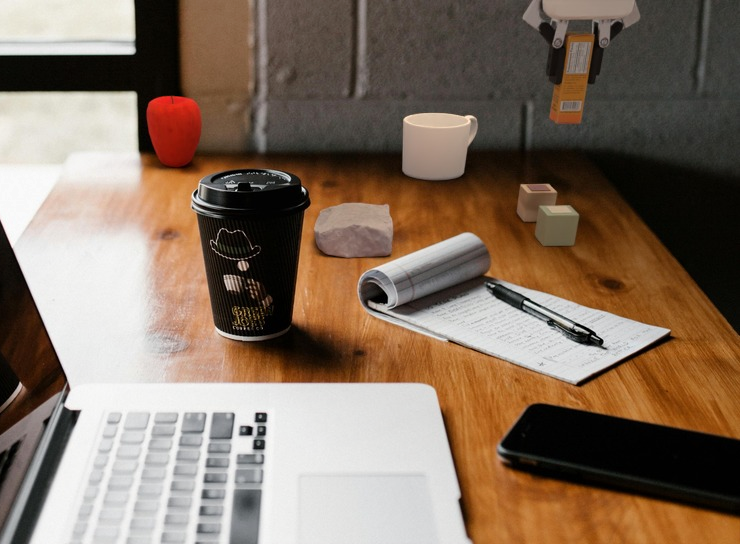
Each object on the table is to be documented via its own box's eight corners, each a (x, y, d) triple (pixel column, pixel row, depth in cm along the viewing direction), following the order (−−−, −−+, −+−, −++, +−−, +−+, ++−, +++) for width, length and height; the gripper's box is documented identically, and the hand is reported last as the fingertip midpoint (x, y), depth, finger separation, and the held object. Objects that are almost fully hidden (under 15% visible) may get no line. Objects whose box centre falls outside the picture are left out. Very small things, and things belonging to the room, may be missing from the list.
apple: (214, 162, 144) (211, 95, 139) (177, 174, 138) (172, 103, 133) (176, 154, 149) (171, 88, 143) (139, 165, 143) (133, 97, 137)
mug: (426, 184, 132) (431, 130, 128) (387, 169, 140) (389, 117, 136) (493, 172, 138) (499, 120, 134) (451, 158, 146) (456, 108, 142)
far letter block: (544, 212, 121) (549, 183, 118) (552, 221, 117) (557, 191, 115) (516, 212, 120) (520, 183, 118) (523, 221, 117) (527, 192, 115)
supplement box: (545, 118, 107) (561, 30, 102) (573, 118, 107) (590, 31, 102) (553, 123, 104) (569, 33, 99) (581, 124, 104) (599, 34, 99)
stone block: (319, 271, 107) (399, 255, 105) (312, 233, 104) (393, 217, 103) (318, 241, 117) (391, 227, 116) (311, 207, 115) (386, 192, 113)
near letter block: (564, 235, 112) (570, 204, 110) (574, 245, 109) (579, 214, 107) (534, 235, 112) (539, 204, 110) (542, 246, 109) (547, 214, 107)
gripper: (532, -96, 90) (510, 89, 100) (688, -97, 90) (651, 87, 100) (514, -96, 97) (495, 77, 106) (660, -98, 97) (628, 76, 106)
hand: (571, 80), depth 103 cm, fingers closed on supplement box, 3 cm apart
